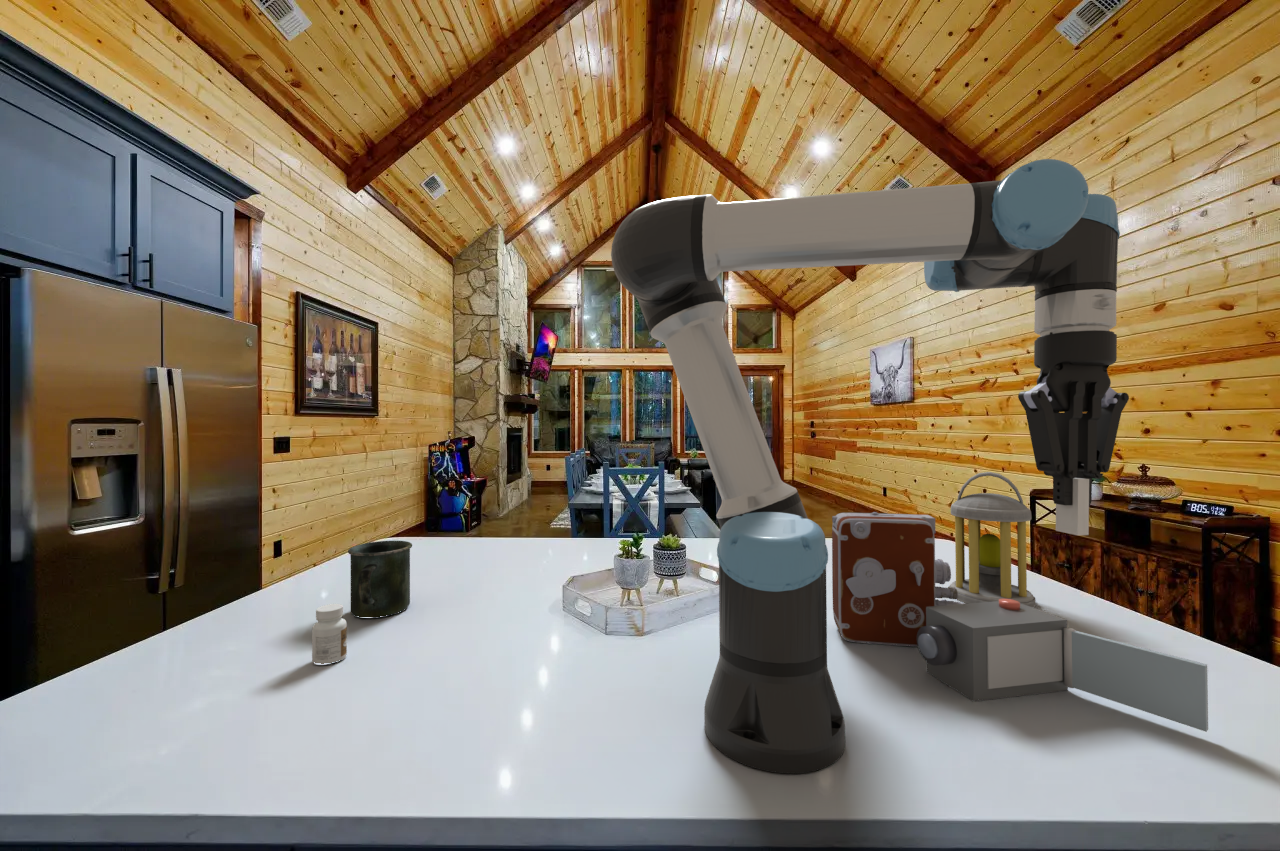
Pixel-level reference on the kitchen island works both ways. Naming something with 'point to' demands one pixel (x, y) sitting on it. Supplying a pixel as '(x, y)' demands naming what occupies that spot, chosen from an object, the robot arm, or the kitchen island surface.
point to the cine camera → (885, 576)
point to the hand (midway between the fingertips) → (1071, 532)
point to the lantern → (990, 546)
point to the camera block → (994, 649)
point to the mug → (380, 578)
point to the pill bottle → (329, 634)
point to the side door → (1137, 677)
